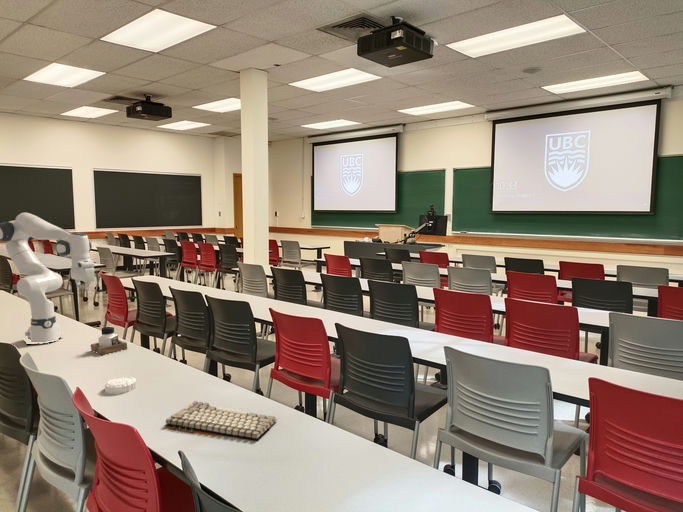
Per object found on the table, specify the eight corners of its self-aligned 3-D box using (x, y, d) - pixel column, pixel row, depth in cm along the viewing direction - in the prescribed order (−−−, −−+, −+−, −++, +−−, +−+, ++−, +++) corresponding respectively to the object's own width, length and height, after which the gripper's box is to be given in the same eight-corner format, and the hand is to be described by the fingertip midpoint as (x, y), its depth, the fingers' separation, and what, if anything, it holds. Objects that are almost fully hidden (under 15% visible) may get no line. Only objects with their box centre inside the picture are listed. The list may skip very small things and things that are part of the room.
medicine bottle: (112, 351, 249) (110, 328, 248) (99, 351, 250) (97, 328, 248) (119, 346, 256) (117, 325, 255) (106, 347, 257) (104, 325, 255)
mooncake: (102, 388, 200) (101, 380, 200) (131, 381, 208) (131, 373, 207) (109, 397, 191) (108, 388, 191) (140, 389, 199) (139, 381, 198)
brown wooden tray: (91, 350, 252) (90, 344, 252) (115, 345, 262) (114, 338, 262) (102, 355, 244) (102, 348, 244) (127, 349, 254) (126, 342, 254)
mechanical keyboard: (281, 419, 170) (281, 410, 170) (257, 445, 152) (256, 435, 152) (192, 407, 181) (191, 399, 181) (159, 430, 163) (158, 421, 163)
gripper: (66, 262, 255) (68, 287, 256) (83, 264, 242) (85, 291, 243) (78, 261, 260) (80, 285, 261) (96, 263, 247) (98, 289, 248)
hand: (83, 288), depth 252 cm, fingers open, 8 cm apart
